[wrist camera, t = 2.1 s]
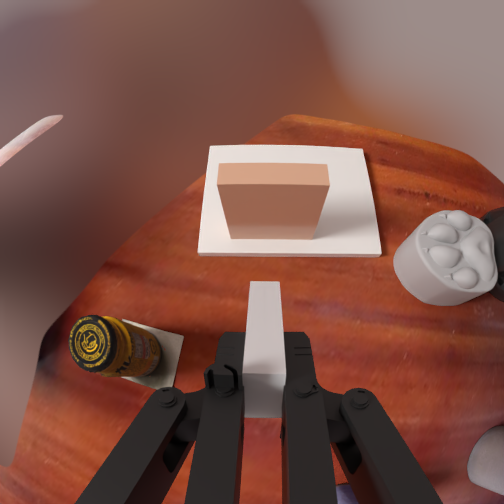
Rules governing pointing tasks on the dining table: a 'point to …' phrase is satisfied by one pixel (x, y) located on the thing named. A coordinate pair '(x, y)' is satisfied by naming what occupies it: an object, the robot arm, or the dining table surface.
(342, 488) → the flask
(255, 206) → the tile
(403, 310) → the dining table surface
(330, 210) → the board
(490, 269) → the lumpy-topped squat cylinder
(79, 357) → the condiment
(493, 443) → the pillar candle
